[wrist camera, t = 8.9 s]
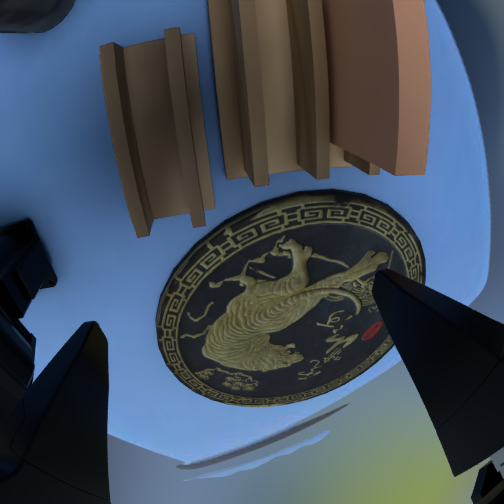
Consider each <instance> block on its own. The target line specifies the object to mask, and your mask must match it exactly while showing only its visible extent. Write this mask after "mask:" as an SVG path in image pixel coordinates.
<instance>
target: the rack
mask: <svg viewBox="0 0 504 504" xmlns="http://www.w3.org/2000/svg"><path fill="white" fill-rule="evenodd" d="M321 1H323V0H207V4H208V15H209V26H210V37H211V47H212V58H213V68H214V77H215V87H216V97H217V106H218V115H219V124H220V133H221V142H222V151H223V159H224V168H225V176H226V178H227V179H234V178H241V177H249V178H250V180H251V181H252V183H253V185H254V186H255V187H258V186H265V185H269V174H272V173H281V172H290V171H300V170H305V171H307V172H308V173H309V174H310V175H312V176H313V177H314V178H315V179H328V178H329V168H334V167H348V166H355V167H356V168H358V169H360V170H362V171H363V172H365V173H367V174H368V175H378V174H380V167H378V166H376V165H374V164H372V163H370V162H368V161H366V160H364V159H363V158H361V157H359V156H357V155H355V154H353V153H351V152H348V151H346V150H344V149H342V148H340V147H338V146H336V145H334V144H332V143H330V125H329V89H328V69H327V54H326V41H325V30H324V19H323V10H322V2H321Z"/></svg>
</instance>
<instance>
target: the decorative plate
mask: <svg viewBox="0 0 504 504" xmlns="http://www.w3.org/2000/svg"><path fill="white" fill-rule="evenodd" d="M385 268H389V269H391V270H393V271H395V272H397V273H400V274H402V275H404V276H406V277H408V278H410V279H412V280H414V281H417V282H419V283H421V284H423V285H425V281H426V265H425V256H424V253H423V249H422V245H421V242H420V240H419V238H418V237H417V235H416V234H415V232H414V230H413V229H412V227H411V226H410V224H409V223H408V222H407V221H406V220H405V219H404V218H403V217H402V216H401V215H399V214H398V213H397V212H396V211H395V210H393V209H392V208H391V207H390V206H389V205H387V204H385V203H383V202H381V201H378V200H376V199H374V198H372V197H369V196H367V195H365V194H360V193H354V192H348V191H341V190H335V189H331V190H317V191H303V192H296V193H292V194H289V195H285V196H282V197H278V198H275V199H271V200H268V201H264V202H261V203H259V204H257V205H255V206H253V207H251V208H249V209H247V210H245V211H243V212H241V213H239V214H237V215H235V216H233V217H231V218H229V219H227V220H225V221H224V222H222V223H221V224H220V225H219V226H217V227H216V228H215V229H213V230H212V231H211V232H210V233H208V234H207V235H206V236H204V237H203V238H202V239H201V240H199V241H198V242H197V243H196V244H195V245H194V246H193V247H192V248H191V249H190V250H189V252H188V253H187V254H186V255H185V256H184V257H183V259H182V260H181V261H180V262H179V263H178V265H177V266H176V267H175V268H174V269H173V271H172V273H171V275H170V277H169V279H168V281H167V283H166V285H165V287H164V289H163V291H162V293H161V295H160V300H159V305H158V310H157V315H156V329H157V339H158V346H159V349H160V352H161V354H162V357H163V359H164V361H165V363H166V366H167V367H168V368H169V369H170V371H171V372H172V373H173V374H174V375H175V377H176V378H177V379H178V380H179V381H180V382H181V383H183V384H184V385H185V386H187V387H188V388H189V389H191V390H192V391H193V392H195V393H197V394H199V395H202V396H204V397H206V398H208V399H210V400H214V401H217V402H221V403H225V404H228V405H236V406H244V407H271V406H279V405H287V404H292V403H296V402H300V401H304V400H308V399H311V398H314V397H317V396H320V395H323V394H325V393H328V392H330V391H332V390H334V389H336V388H338V387H341V386H343V385H345V384H346V383H348V382H350V381H351V380H353V379H355V378H356V377H358V376H359V375H361V374H363V373H364V372H365V371H367V370H368V369H369V368H370V367H372V366H373V365H374V364H376V363H377V362H378V361H379V360H380V359H381V358H382V357H383V356H384V355H385V354H386V353H387V352H388V351H389V350H390V349H392V347H393V346H394V343H393V341H392V339H391V337H390V335H389V333H388V331H387V329H386V326H385V324H384V322H383V319H382V317H381V315H380V312H379V310H378V308H377V305H376V303H375V301H374V298H373V296H372V287H373V282H374V277H375V273H376V272H377V271H378V270H381V269H385Z"/></svg>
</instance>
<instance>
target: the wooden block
mask: <svg viewBox="0 0 504 504" xmlns="http://www.w3.org/2000/svg"><path fill="white" fill-rule="evenodd" d="M321 2H322V10H323V19H324V30H325V41H326V54H327V69H328V89H329V125H330V143H332V144H334V145H336V146H338V147H340V148H342V149H344V150H346V151H348V152H351V153H353V154H355V155H357V156H359V157H361V158H363V159H364V160H366V161H368V162H370V163H372V164H374V165H376V166H378V167H380V168H382V169H383V170H385V171H387V172H389V173H391V174H392V175H394V176H404V175H425V171H426V163H427V153H428V142H429V129H430V108H431V69H430V49H429V36H428V26H427V18H426V11H425V4H424V0H323V1H321Z"/></svg>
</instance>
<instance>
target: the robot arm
mask: <svg viewBox="0 0 504 504" xmlns="http://www.w3.org/2000/svg"><path fill="white" fill-rule="evenodd" d="M26 224H28V226H27V225H26ZM51 280H52V281H53V282H52V281H51ZM56 284H57V278H56V276H55V274H54V272H53V270H52V268H51V265H50V263H49V261H48V259H47V256H46V254H45V252H44V250H43V247H42V245H41V243H40V241H39V238H38V236H37V233H36V231H35V228H34V225H33V223H32V221H31V220H30V219H28V218H26V219H23V220H20V221H17V222H14V223H11V224H8V225H5V226H2V227H0V504H111V502H110V493H109V479H108V478H109V477H108V457H107V456H108V454H107V453H108V452H107V421H108V395H109V373H108V341H107V338H106V337H105V335H104V333H103V331H102V330H101V328H100V326H99V324H98V323H97V322H96V321H88V322H84V323H83V324H82V325H81V326H80V327H79V328H78V330H77V331H76V332H75V333H74V334H73V335H72V336H71V338H70V339H69V340H68V341H67V342H66V343H65V344H64V346H63V347H62V348H61V349H60V350H59V352H58V353H57V354H56V355H55V356H54V358H53V359H52V360H51V361H50V362H49V364H48V365H47V366H46V367H45V368H44V370H43V371H42V372H41V373H40V375H39V376H38V377H37V378H36V380H35V381H34V382H33V376H34V370H35V364H34V359H35V346H36V338H35V337H34V335H33V334H32V333H31V334H30V332H29V331H28V330H27V329H26V328H25V326H24V325H23V324H22V323H21V322H20V320H19V319H20V318H23V317H24V315H25V313H26V311H27V309H28V307H29V305H30V303H31V301H32V300H33V299H35V297H36V295H37V293H38V291H39V289H44V288H50V287H54V286H56ZM372 296H373V298H374V301H375V303H376V305H377V308H378V310H379V312H380V315H381V317H382V319H383V322H384V324H385V326H386V329H387V331H388V333H389V335H390V337H391V339H392V341H393V343H394V345H395V347H396V348H397V350H398V352H399V354H400V356H401V358H402V360H403V362H404V363H405V366H406V368H407V370H408V372H409V374H410V376H411V378H412V380H413V382H414V384H415V386H416V388H417V390H418V392H419V394H420V397H421V398H422V401H423V403H424V405H425V407H426V409H427V412H428V414H429V416H430V418H431V421H432V423H433V425H434V427H435V430H436V432H437V435H438V437H439V440H440V442H441V445H442V447H443V449H444V452H445V455H446V457H447V459H448V462H449V464H450V467H451V470H452V473H453V475H454V476H455V477H456V476H458V475H459V474H461V473H463V472H465V471H467V470H468V469H470V468H472V467H473V466H475V465H477V464H478V463H480V462H482V461H483V460H485V459H487V458H488V457H490V458H491V460H490V461H489V462H488V463H487V464H485V465H484V466H483V467H482V468H481V469H480V470H479V472H478V476H477V479H476V483H475V486H474V490H473V493H472V496H471V499H472V502H473V504H504V324H502V323H500V322H498V321H495V320H493V319H491V318H489V317H487V316H485V315H483V314H481V313H479V312H477V311H476V310H473V309H471V308H469V307H468V306H466V305H464V304H462V303H460V302H458V301H456V300H454V299H452V298H450V297H448V296H446V295H444V294H441V293H439V292H437V291H435V290H433V289H431V288H429V287H427V286H425V285H423V284H421V283H419V282H417V281H414V280H412V279H410V278H408V277H406V276H404V275H402V274H400V273H397V272H395V271H393V270H391V269H389V268H385V269H381V270H378V271H377V272H376V273H375V277H374V282H373V287H372ZM32 382H33V383H32Z"/></svg>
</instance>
